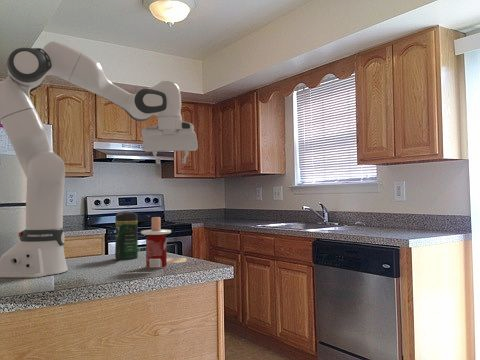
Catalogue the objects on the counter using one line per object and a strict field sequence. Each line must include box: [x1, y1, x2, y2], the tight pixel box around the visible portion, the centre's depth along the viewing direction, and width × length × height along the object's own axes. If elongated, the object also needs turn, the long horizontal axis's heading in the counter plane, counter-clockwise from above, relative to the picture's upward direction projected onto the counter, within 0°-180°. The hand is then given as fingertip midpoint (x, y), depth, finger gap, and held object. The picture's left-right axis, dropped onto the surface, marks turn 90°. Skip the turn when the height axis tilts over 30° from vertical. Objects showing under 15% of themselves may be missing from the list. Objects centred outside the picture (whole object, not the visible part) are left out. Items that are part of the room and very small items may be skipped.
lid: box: [140, 216, 172, 236], centre depth 144 cm, size 10×10×5 cm
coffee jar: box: [114, 210, 139, 261], centre depth 165 cm, size 10×8×19 cm
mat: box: [167, 257, 187, 264], centre depth 157 cm, size 10×10×1 cm
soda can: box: [145, 234, 168, 270], centre depth 144 cm, size 7×7×12 cm
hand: (171, 163), depth 158 cm, fingers open, 8 cm apart
